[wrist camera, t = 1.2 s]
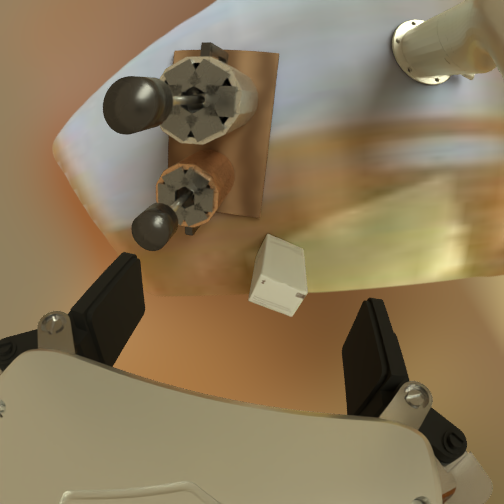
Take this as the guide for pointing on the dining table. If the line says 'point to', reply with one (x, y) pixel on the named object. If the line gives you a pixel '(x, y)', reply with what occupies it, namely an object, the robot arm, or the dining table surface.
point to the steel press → (209, 97)
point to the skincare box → (279, 276)
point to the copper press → (197, 186)
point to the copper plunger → (160, 221)
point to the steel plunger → (145, 103)
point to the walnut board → (241, 134)
